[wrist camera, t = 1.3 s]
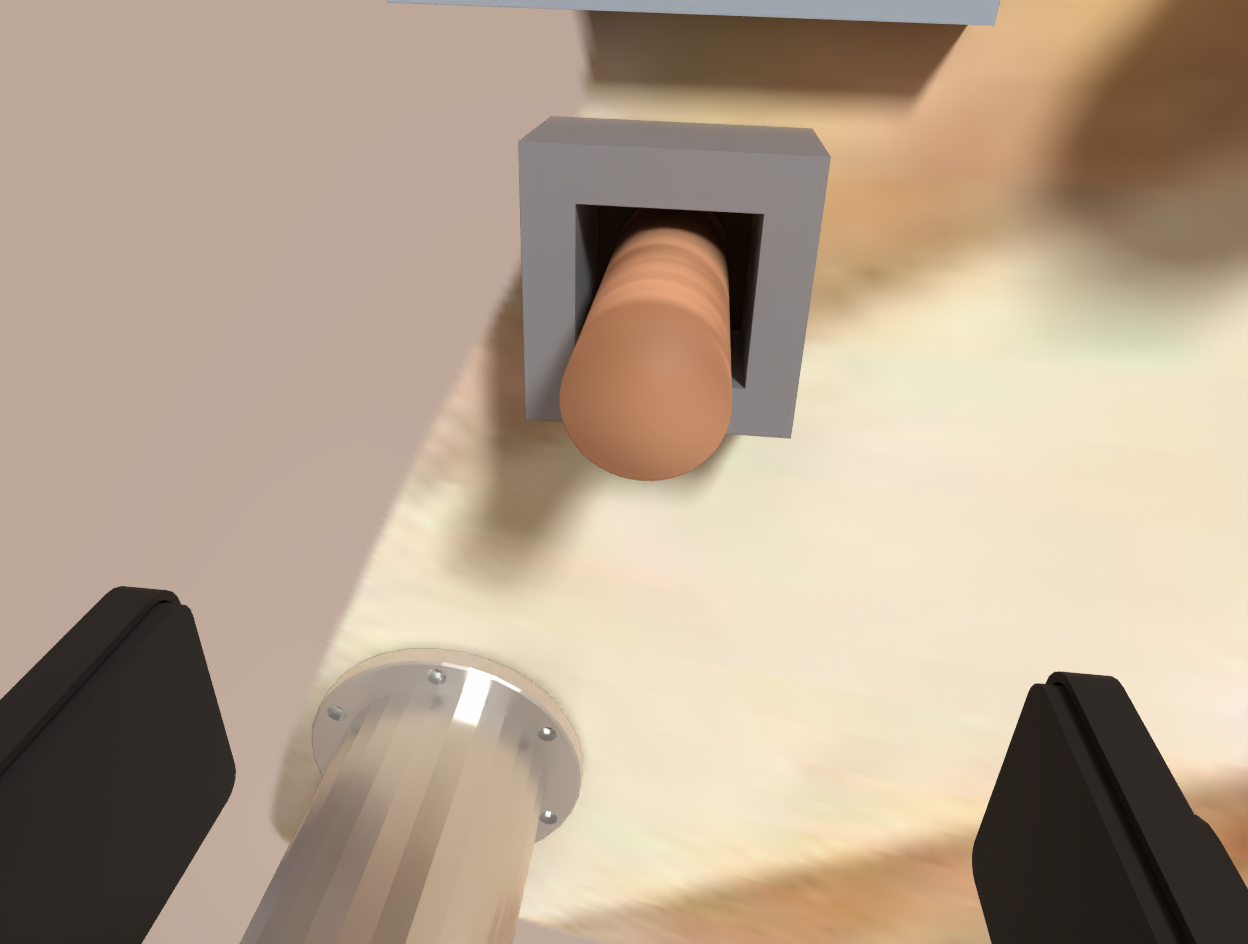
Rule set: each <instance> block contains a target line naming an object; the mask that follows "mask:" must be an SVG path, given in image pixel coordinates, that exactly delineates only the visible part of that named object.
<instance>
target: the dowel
mask: <svg viewBox="0 0 1248 944" xmlns="http://www.w3.org/2000/svg"><path fill="white" fill-rule="evenodd" d="M560 411H561V415H562V420H563V423H564V425H565V428H566V431H567V432H568V434H569V436H570V438H571V440H572V441H573V443H574V444H575V445H576V447H577V448H578V449H579V450H580V451H581V452H582V454H583V455H584V456H586V457H587V458H588V459H589V460H590V461H591V462H593V463H594V464H596V465H597V466H599V467H600V468H602V469H604V470H606V471H608V472H610V473H612V474H615V475H618V476H620V477H624V478H628V479H633V480H641V481H655V480H664V479H669V478H673V477H676V476H679V475H682V474H684V473H687V472H689V471H691V470H693V469H694V468H696V467H697V466H699V465H700V464H702V463H703V462H704V461H705V460H707V459H708V458H709V457H710V456H711V455H712V454H713V453H714V451H715V450H716V449H717V448H718V446H719V445H720V443H721V442H722V440H723V438H724V436H725V434H726V432H727V429H728V426H729V423H730V419H731V413H732V384H731V348H730V313H729V277H728V246H727V239H726V235H725V232H724V230H723V227H722V226H721V224H720V222H719V220H718V219H717V218H716V216H715V215H714V214H713V213H712V212H711V211H699V210H681V209H662V208H644V207H640V208H639V209H637V210H636V211H635V212H634V213H633V214H632V215H631V216H630V218H629V219H628V221H627V222H626V224H625V226H624V228H623V230H622V232H621V235H620V237H619V240H618V242H617V245H616V247H615V250H614V252H613V254H612V257H611V259H610V262H609V264H608V267H607V269H606V272H605V274H604V277H603V279H602V282H601V284H600V287H599V289H598V292H597V294H596V297H595V299H594V302H593V304H592V306H591V309H590V311H589V314H588V316H587V319H586V321H585V324H584V326H583V329H582V331H581V334H580V336H579V339H578V341H577V344H576V346H575V349H574V351H573V354H572V356H571V359H570V361H569V363H568V366H567V368H566V371H565V374H564V376H563V379H562V384H561V388H560Z"/></svg>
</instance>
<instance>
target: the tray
mask: <svg viewBox="0 0 1248 944" xmlns="http://www.w3.org/2000/svg"><path fill="white" fill-rule="evenodd" d="M388 2H391V3H417V4H443V5H468V6H469V5H470V6H494V7H520V8H547V9H572V10H598V11H624V12H650V13H676V14H702V15H728V16H754V17H780V18H806V19H832V20H858V21H884V22H910V23H936V24H962V25H988V26H994V25H995V21H996V16H997V11H998V7H999V2H1000V0H388Z"/></svg>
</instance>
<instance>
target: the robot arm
mask: <svg viewBox="0 0 1248 944" xmlns="http://www.w3.org/2000/svg"><path fill="white" fill-rule="evenodd" d="M312 745H313V750H314V755H315V760H316V763H317V765H318V767H319V770H320V772H321V774H322V776H323V779H322V781H321V783H320V785H319V787H318V789H317V791H316V793H315V795H314V797H313V799H312V801H311V803H310V805H309V807H308V809H307V811H306V813H305V815H304V817H303V819H302V821H301V823H300V825H299V827H298V829H297V831H296V833H295V835H294V837H293V839H292V841H291V843H290V845H289V847H288V849H287V851H286V853H285V855H284V857H283V859H282V861H281V863H280V865H279V867H278V869H277V871H276V873H275V875H274V877H273V879H272V881H271V883H270V884H269V887H268V888H267V890H266V893H265V894H264V896H263V899H262V901H261V903H260V904H259V906H258V908H257V910H256V913H255V914H254V916H253V918H252V920H251V922H250V924H249V926H248V928H247V930H246V932H245V934H244V937H243V938H242V940H241V942H240V944H512V943H513V938H514V933H515V929H516V924H517V920H518V915H519V910H520V906H521V901H522V897H523V892H524V887H525V883H526V878H527V874H528V869H529V864H530V860H531V855H532V851H533V846H534V843H536V842H538V841H540V840H542V839H544V838H546V837H547V836H548V835H550V834H551V833H552V832H554V831H555V830H556V829H557V828H559V827H560V826H561V825H562V824H563V822H564V821H565V820H566V819H567V817H568V816H569V815H570V814H571V812H572V810H573V808H574V806H575V804H576V801H577V799H578V797H579V792H580V787H581V782H582V776H583V754H582V750H581V746H580V742H579V738H578V736H577V734H576V732H575V730H574V728H573V726H572V724H571V722H570V720H569V718H568V717H567V716H566V715H565V713H564V712H563V711H562V710H561V708H560V707H559V706H558V705H557V703H556V702H555V701H554V700H553V699H552V698H551V697H550V696H548V695H547V694H546V693H545V692H544V691H543V690H542V689H540V688H539V687H538V686H537V685H536V684H534V683H533V682H531V681H530V680H528V679H526V678H525V677H523V676H522V675H520V674H518V673H517V672H515V671H514V670H512V669H509V668H507V667H505V666H502V665H500V664H498V663H496V662H493V661H491V660H489V659H485V658H482V657H478V656H475V655H471V654H467V653H464V652H459V651H451V650H443V649H435V648H426V649H405V650H399V651H394V652H389V653H383V654H381V655H378V656H375V657H373V658H370V659H368V660H365V661H363V662H361V663H359V664H358V665H356V666H355V667H353V668H352V669H350V670H348V671H347V672H345V673H344V674H343V675H342V676H341V677H340V678H339V679H338V680H337V682H336V683H335V684H334V685H333V686H332V687H331V688H330V690H329V692H328V693H327V695H326V697H325V699H324V700H323V702H322V704H321V706H320V707H319V710H318V713H317V715H316V718H315V721H314V724H313V735H312ZM235 774H236V769H235V763H234V759H233V756H232V752H231V749H230V745H229V742H228V738H227V735H226V731H225V728H224V724H223V720H222V717H221V713H220V710H219V706H218V703H217V699H216V696H215V692H214V688H213V685H212V681H211V678H210V674H209V671H208V668H207V664H206V660H205V656H204V653H203V650H202V646H201V642H200V639H199V635H198V632H197V628H196V625H195V621H194V617H193V614H192V612H191V610H190V609H189V608H188V607H187V606H186V605H181V603H180V601H179V599H178V597H177V596H176V595H175V594H174V593H173V592H171V591H167V590H156V589H146V588H136V587H125V586H121V587H117V588H114V589H112V590H111V591H109V592H108V593H107V594H106V595H105V596H104V597H103V598H102V599H101V600H100V601H99V602H98V603H97V604H96V605H95V606H94V607H93V608H92V609H91V610H90V611H89V612H88V613H87V614H86V615H85V616H84V617H83V618H82V619H81V620H80V621H79V622H78V623H77V624H76V625H75V626H74V627H73V628H72V629H71V630H70V631H69V632H68V633H67V634H66V635H65V636H64V637H63V638H62V639H61V640H60V641H59V642H58V643H57V644H56V645H55V646H54V647H53V648H52V649H51V650H50V651H49V652H48V653H47V654H46V655H45V656H44V657H43V658H42V659H41V660H40V661H39V662H38V663H37V664H36V665H35V666H34V667H33V668H32V669H31V670H30V671H29V672H28V673H27V674H26V675H25V676H24V677H23V678H22V679H21V680H20V681H19V682H18V683H17V684H16V685H15V686H14V687H13V688H12V689H11V690H10V691H9V692H8V693H7V694H6V695H5V696H4V697H3V698H2V699H1V700H0V944H142V942H143V940H144V939H145V937H146V935H147V934H148V932H149V930H150V929H151V927H152V925H153V924H154V922H155V920H156V919H157V917H158V915H159V914H160V912H161V910H162V909H163V907H164V905H165V904H166V902H167V900H168V899H169V897H170V895H171V894H172V892H173V890H174V889H175V887H176V885H177V884H178V882H179V880H180V879H181V877H182V876H183V874H184V872H185V871H186V869H187V867H188V866H189V864H190V862H191V860H192V859H193V857H194V855H195V854H196V852H197V851H198V849H199V847H200V846H201V844H202V842H203V841H204V839H205V837H206V836H207V834H208V832H209V831H210V829H211V827H212V826H213V824H214V822H215V821H216V819H217V817H218V816H219V814H220V812H221V811H222V809H223V807H224V806H225V804H226V802H227V801H228V799H229V797H230V795H231V792H232V789H233V786H234V782H235ZM972 868H973V876H974V880H975V884H976V888H977V892H978V895H979V899H980V903H981V906H982V910H983V914H984V917H985V921H986V925H987V928H988V932H989V935H990V939H991V943H992V944H1248V888H1247V887H1246V885H1245V883H1244V881H1243V880H1242V878H1241V876H1240V874H1239V873H1238V871H1237V869H1236V867H1235V866H1234V864H1233V862H1232V860H1231V859H1230V857H1229V855H1228V853H1227V852H1226V850H1225V848H1224V846H1223V845H1222V843H1221V841H1220V839H1219V838H1218V837H1217V835H1216V834H1215V832H1214V831H1213V830H1212V828H1211V827H1210V826H1209V824H1208V823H1206V822H1205V821H1204V820H1202V819H1201V818H1200V817H1199V816H1197V815H1194V813H1193V811H1192V809H1191V808H1190V806H1189V804H1188V802H1187V800H1186V799H1185V797H1184V795H1183V793H1182V792H1181V790H1180V788H1179V786H1178V784H1177V783H1176V781H1175V779H1174V777H1173V775H1172V774H1171V772H1170V770H1169V768H1168V766H1167V765H1166V763H1165V761H1164V759H1163V757H1162V756H1161V754H1160V752H1159V750H1158V748H1157V747H1156V745H1155V743H1154V741H1153V739H1152V738H1151V736H1150V734H1149V732H1148V731H1147V729H1146V727H1145V725H1144V723H1143V722H1142V720H1141V718H1140V716H1139V714H1138V713H1137V711H1136V709H1135V707H1134V705H1133V704H1132V702H1131V700H1130V698H1129V696H1128V695H1127V693H1126V691H1125V689H1124V687H1123V686H1122V685H1121V683H1120V682H1119V681H1118V680H1117V679H1115V678H1114V677H1112V676H1103V675H1092V674H1081V673H1070V672H1054V673H1053V674H1051V675H1050V676H1049V678H1048V680H1047V682H1046V684H1034V685H1033V686H1032V687H1031V688H1030V690H1029V692H1028V695H1027V698H1026V701H1025V703H1024V706H1023V709H1022V712H1021V714H1020V717H1019V720H1018V723H1017V726H1016V728H1015V731H1014V734H1013V737H1012V739H1011V742H1010V745H1009V748H1008V751H1007V753H1006V756H1005V759H1004V762H1003V764H1002V767H1001V770H1000V773H999V776H998V778H997V781H996V784H995V787H994V789H993V792H992V795H991V798H990V800H989V803H988V806H987V809H986V812H985V814H984V817H983V820H982V823H981V825H980V828H979V831H978V834H977V837H976V839H975V842H974V846H973V853H972Z"/></svg>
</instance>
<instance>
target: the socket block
mask: <svg viewBox="0 0 1248 944" xmlns="http://www.w3.org/2000/svg"><path fill="white" fill-rule="evenodd" d="M518 147H519V148H518V149H519V186H520V223H521V261H522V298H523V335H524V372H525V409H526V420H539V421H553V422H563V420H562V415H561V411H560V388H561V384H562V379H563V376H564V374H565V371H566V368H567V366H568V363H569V361H570V359H571V356H572V354H573V351H574V349H575V346H576V344H577V341H578V339H579V336H580V334H581V331H582V329H583V326H584V324H585V321H586V319H587V316H588V314H589V311H590V309H591V306H592V304H593V302H594V299H595V297H596V286H597V224H598V205H607V206H625V207H644V208H662V209H681V210H699V211H718V212H736V213H754V214H753V223H752V233H751V243H750V252H749V262H748V272H747V281H746V291H745V301H744V310H743V320H742V330H738V329H730V348H731V384H732V413H731V419H730V423H729V426H728V429H727V432H726V434H735V435H749V436H763V437H777V438H791V433H792V426H793V419H794V412H795V405H796V398H797V391H798V384H799V377H800V370H801V362H802V355H803V348H804V341H805V334H806V327H807V320H808V313H809V306H810V299H811V292H812V285H813V278H814V271H815V264H816V257H817V250H818V243H819V236H820V229H821V222H822V215H823V208H824V201H825V194H826V186H827V179H828V172H829V165H830V158H831V157H830V155H829V153H828V152H827V150H826V149H825V147H824V146H823V144H822V143H821V141H820V140H819V138H818V137H817V135H816V134H815V132H814V130H813V129H808V128H787V127H765V126H744V125H723V124H702V123H681V122H659V121H638V120H617V119H596V118H574V117H552V116H551V117H550V118H548V119H547V120H546V121H544V122H543V123H542V124H541V125H539V126H538V127H537V128H536V129H534V130H533V131H531V132H530V133H529V134H528V135H526V136H525V137H523V138H522V139H521V140H520V141H518Z"/></svg>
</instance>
